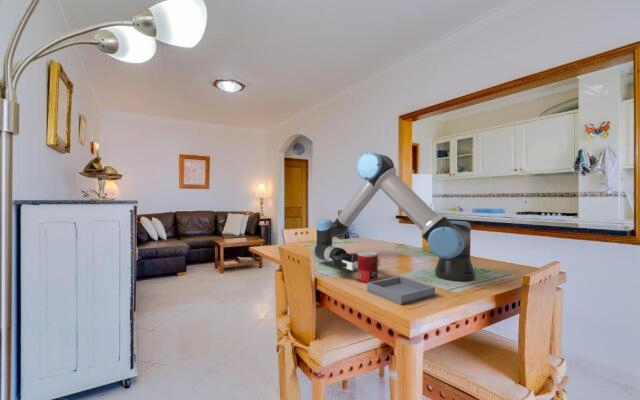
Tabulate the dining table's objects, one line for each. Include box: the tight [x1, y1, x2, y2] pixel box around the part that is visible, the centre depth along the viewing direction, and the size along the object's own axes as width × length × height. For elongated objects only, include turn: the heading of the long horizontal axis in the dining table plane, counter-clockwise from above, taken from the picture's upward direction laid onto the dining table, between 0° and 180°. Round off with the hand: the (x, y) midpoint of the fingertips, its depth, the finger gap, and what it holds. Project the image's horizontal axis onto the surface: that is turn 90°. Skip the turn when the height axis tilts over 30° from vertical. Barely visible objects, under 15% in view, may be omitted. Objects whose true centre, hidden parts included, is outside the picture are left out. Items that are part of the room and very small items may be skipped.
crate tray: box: [366, 275, 436, 306], centre depth 105 cm, size 16×16×3 cm
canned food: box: [357, 250, 379, 284], centre depth 120 cm, size 8×8×11 cm
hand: (366, 264), depth 120 cm, fingers open, 13 cm apart
